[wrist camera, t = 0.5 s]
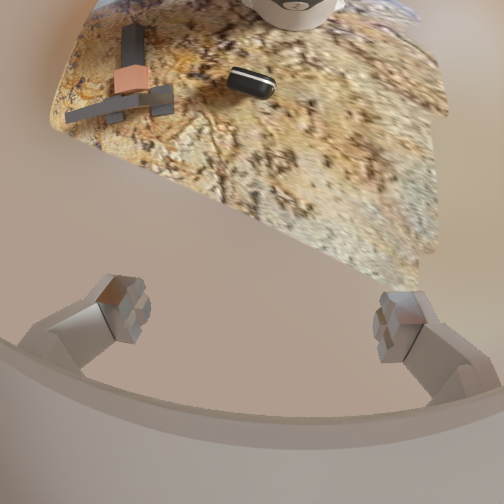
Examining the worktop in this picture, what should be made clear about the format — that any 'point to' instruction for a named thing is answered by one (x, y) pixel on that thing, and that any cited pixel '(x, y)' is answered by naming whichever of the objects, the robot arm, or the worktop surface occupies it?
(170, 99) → the grey arch stand
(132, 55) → the plug
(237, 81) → the battery charger
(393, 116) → the worktop surface
